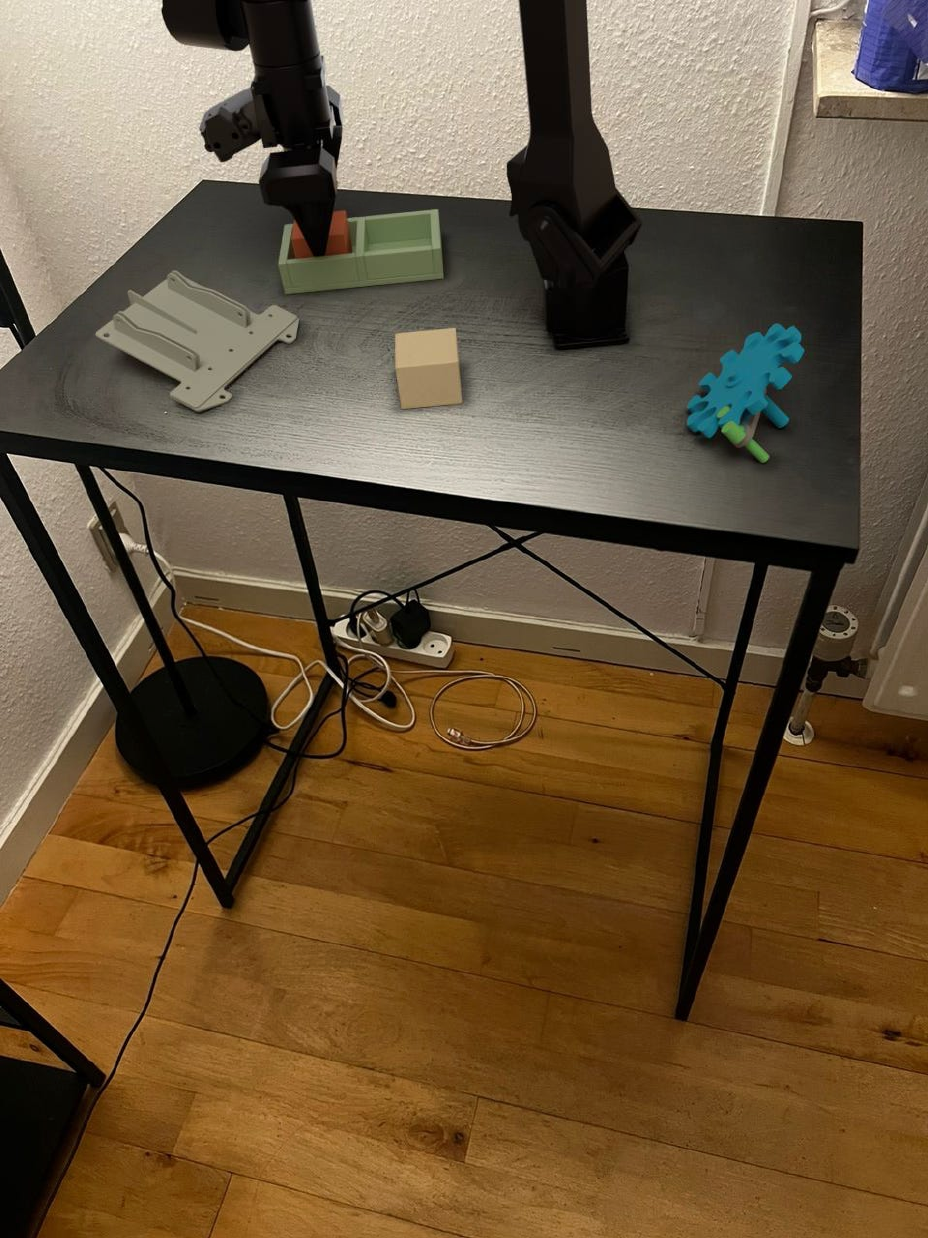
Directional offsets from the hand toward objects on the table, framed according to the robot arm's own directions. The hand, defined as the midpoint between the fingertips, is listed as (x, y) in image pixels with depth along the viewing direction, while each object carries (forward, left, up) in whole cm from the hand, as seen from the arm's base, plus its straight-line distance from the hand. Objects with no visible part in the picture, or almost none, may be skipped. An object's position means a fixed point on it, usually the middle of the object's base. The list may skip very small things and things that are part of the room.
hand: (321, 234), depth 91 cm
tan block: (-10, +22, -4) cm, 24 cm away
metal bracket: (+11, +13, -4) cm, 18 cm away
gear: (-33, +31, -4) cm, 45 cm away
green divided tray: (-4, 0, -4) cm, 5 cm away
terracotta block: (0, 0, -3) cm, 3 cm away
